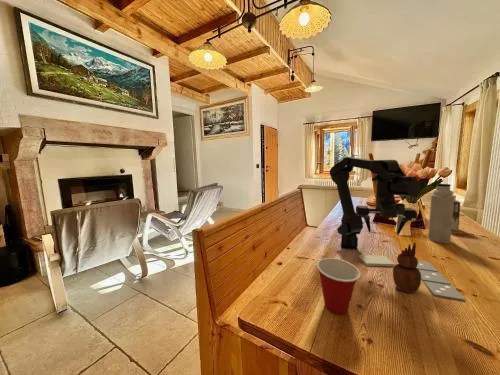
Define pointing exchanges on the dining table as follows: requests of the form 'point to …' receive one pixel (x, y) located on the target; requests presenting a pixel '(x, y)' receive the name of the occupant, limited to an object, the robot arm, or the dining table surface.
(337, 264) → the plastic cup
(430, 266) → the pad
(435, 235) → the thermos bottle
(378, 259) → the folded napkin
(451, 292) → the pad
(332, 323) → the dining table surface
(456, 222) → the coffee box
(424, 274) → the pad
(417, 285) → the wooden figurine
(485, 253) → the dining table surface
